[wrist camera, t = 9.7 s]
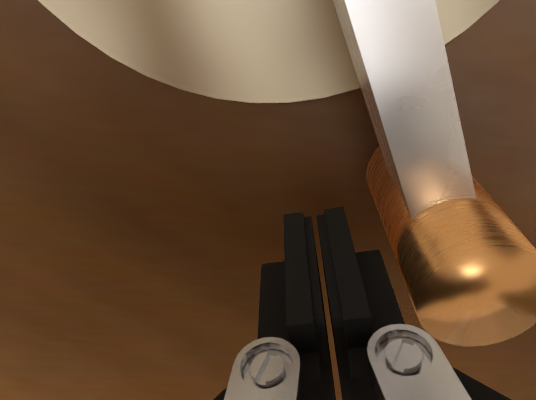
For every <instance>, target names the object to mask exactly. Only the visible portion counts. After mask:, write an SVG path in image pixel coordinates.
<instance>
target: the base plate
mask: <svg viewBox="0 0 536 400" xmlns="http://www.w3.org/2000/svg"><path fill="white" fill-rule="evenodd" d="M38 1H39V2H40V3H41V4H42V5H43V6H45V7H46V8H47V9H48V10H49V11H50V12H52V13H53V14H54V15H55V16H56V17H57V18H59V19H60V20H61V21H62V22H63V23H65V24H66V25H67V26H68V27H69V28H70V29H72V30H73V31H74V32H75V33H76V34H78V35H79V36H81V37H82V38H83V39H85V40H86V41H88V42H89V43H91V44H92V45H94V46H95V47H97V48H98V49H100V50H101V51H103V52H104V53H105V54H107V55H108V56H110V57H111V58H113V59H115V60H117V61H119V62H121V63H123V64H124V65H126V66H128V67H130V68H132V69H134V70H136V71H138V72H140V73H141V74H143V75H145V76H147V77H150V78H152V79H155V80H158V81H160V82H163V83H165V84H168V85H171V86H173V87H176V88H178V89H181V90H184V91H188V92H192V93H196V94H200V95H204V96H208V97H212V98H216V99H223V100H232V101H240V102H248V103H289V102H297V101H304V100H312V99H319V98H325V97H329V96H332V95H336V94H340V93H344V92H347V91H351V90H355V89H359V88H361V87H360V84H359V81H358V77H357V74H356V71H355V68H354V65H353V62H352V59H351V55H350V52H349V49H348V46H347V43H346V40H345V37H344V34H343V30H342V27H341V24H340V21H339V18H338V15H337V12H336V9H335V5H334V2H333V0H38ZM499 1H500V0H435V2H436V7H437V11H438V16H439V21H440V26H441V31H442V36H443V40H444V45H445V44H446V43H448V42H449V41H451V40H452V39H453V38H455V37H456V36H458V35H459V34H461V33H462V32H463V31H465V30H466V29H468V28H469V27H470V26H471V25H472V24H473V23H474V22H476V21H477V20H478V19H479V18H480V17H481V16H482V15H484V14H485V13H486V12H487V11H488V10H489V9H491V8H492V7H493V6H494V5H495V4H496V3H497V2H499Z"/></svg>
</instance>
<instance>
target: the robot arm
mask: <svg viewBox="0 0 536 400" xmlns="http://www.w3.org/2000/svg"><path fill="white" fill-rule="evenodd" d="M317 222H318V229H319V237H320V244H321V252H322V259H323V267H324V274H325V281H326V289H327V296H328V303H329V310H330V317H331V324H332V330H333V337H334V344H335V351H336V358H337V365H338V372H339V378H340V385H341V392H342V399H343V400H511V399H509V398H507V397H505V396H504V395H502V394H500V393H498V392H496V391H494V390H493V389H491V388H489V387H487V386H485V385H484V384H482V383H480V382H478V381H476V380H475V379H473V378H471V377H469V376H467V375H465V374H464V373H462V372H460V371H458V370H456V369H455V368H453V367H451V365H450V363H449V362H448V360H447V358H446V357H445V355H444V354H443V352H442V350H441V349H440V347H439V345H438V344H437V342H436V341H435V340H434V339H433V338H432V336H431V335H429V334H428V333H426V332H425V331H423V330H422V329H420V328H417V327H414V326H412V325H406V324H405V323H404V321H403V318H402V315H401V312H400V309H399V306H398V303H397V300H396V297H395V294H394V291H393V288H392V285H391V283H390V280H389V277H388V274H387V271H386V268H385V265H384V262H383V259H382V256H381V254H380V251H379V250H374V251H366V252H358V253H355V251H354V247H353V243H352V239H351V235H350V231H349V227H348V224H347V220H346V216H345V212H344V208H343V207H339V208H332V209H324V215H318V216H317ZM284 251H285V261H283V262H275V263H267V264H262V268H261V286H260V305H259V325H258V340H255V341H252V342H251V343H249V344H248V345H247V346H245V347H244V348H243V349H242V350H241V351H240V353H239V354H238V355H237V357H236V360H235V362H234V364H233V368H232V372H231V375H230V379H229V383H228V386H227V388H226V389H225V390H223V391H222V392H221V393H220V394H219V395H218V396H217V397H216V398H215V399H214V400H336V397H335V389H334V381H333V374H332V366H331V358H330V350H329V343H328V335H327V327H326V320H325V312H324V304H323V297H322V289H321V282H320V275H319V268H318V261H317V254H316V247H315V240H314V233H313V226H312V219H311V216H310V217H304V216H303V212H302V213H294V214H286V215H284Z"/></svg>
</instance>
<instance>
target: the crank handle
mask: <svg viewBox="0 0 536 400" xmlns="http://www.w3.org/2000/svg"><path fill="white" fill-rule="evenodd" d="M333 2H334V5H335V9H336V12H337V15H338V18H339V21H340V24H341V27H342V30H343V34H344V37H345V40H346V43H347V46H348V49H349V52H350V55H351V59H352V62H353V65H354V68H355V71H356V74H357V77H358V81H359V84H360V87H361V90H362V93H363V96H364V99H365V102H366V106H367V109H368V112H369V115H370V118H371V121H372V124H373V127H374V131H375V134H376V137H377V140H378V143H379V146H378V147H377V149H376V150H375V151H374V152H373V154H372V155H371V157H370V159H369V162H368V165H367V169H366V179H367V183H368V186H369V189H370V192H371V194H372V197H373V200H374V202H375V205H376V208H377V210H378V213H379V216H380V218H381V221H382V224H383V226H384V229H385V232H386V234H387V237H388V240H389V242H390V245H391V248H392V250H393V253H394V256H395V258H396V261H397V264H398V266H399V269H400V272H401V274H402V277H403V280H404V282H405V285H406V288H407V290H408V293H409V296H410V298H411V301H412V304H413V306H414V309H415V312H416V314H417V317H418V320H419V322H420V324H421V325H422V327H423V328H424V329H425V330H426V331H427V332H428V333H429V334H430V335H431V336H433V337H434V338H436V339H438V340H440V341H443V342H445V343H448V344H452V345H458V346H483V345H490V344H495V343H498V342H502V341H505V340H507V339H510V338H512V337H515V336H517V335H519V334H521V333H522V332H524V331H526V330H528V329H529V328H530V327H532V326H533V325H534V324H536V249H535V248H534V246H533V245H532V244H531V243H530V242H529V241H528V239H527V238H526V237H525V236H524V235H523V234H522V233H521V231H520V230H519V229H518V228H517V227H516V226H515V224H514V223H513V222H512V221H511V220H510V219H509V217H508V216H507V215H506V214H505V213H504V212H503V210H502V209H501V208H500V207H499V206H498V205H497V203H496V202H495V201H494V200H493V199H492V198H491V196H490V195H489V194H488V193H487V192H486V191H485V189H484V188H483V187H482V186H481V185H480V184H479V182H478V181H477V180H476V179H475V178H474V177H473V176H472V174H471V171H470V166H469V161H468V156H467V151H466V147H465V142H464V137H463V132H462V127H461V122H460V118H459V113H458V108H457V103H456V98H455V93H454V89H453V84H452V79H451V74H450V69H449V65H448V60H447V55H446V50H445V45H444V40H443V36H442V31H441V26H440V21H439V16H438V11H437V7H436V2H435V0H333Z"/></svg>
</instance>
